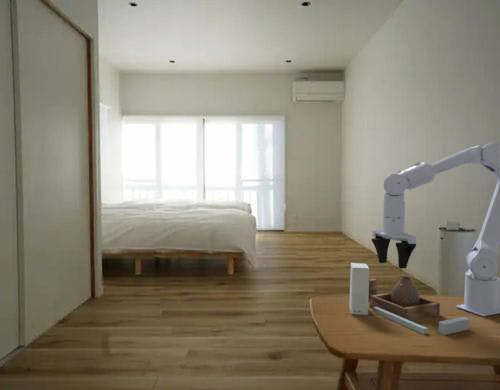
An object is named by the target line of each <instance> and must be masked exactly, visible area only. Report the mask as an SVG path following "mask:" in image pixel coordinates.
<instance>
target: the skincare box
mask: <svg viewBox="0 0 500 390" xmlns="http://www.w3.org/2000/svg"><path fill="white" fill-rule="evenodd" d="M349 273H350V277H349V278H350V279H349V302H348V303H349V305H348V307H349V310H350V314H351V315H361V316H368V315H369V300H370V298H369V279H370V267H369V266H368V264H367V263H359V262H350V272H349Z"/></svg>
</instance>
